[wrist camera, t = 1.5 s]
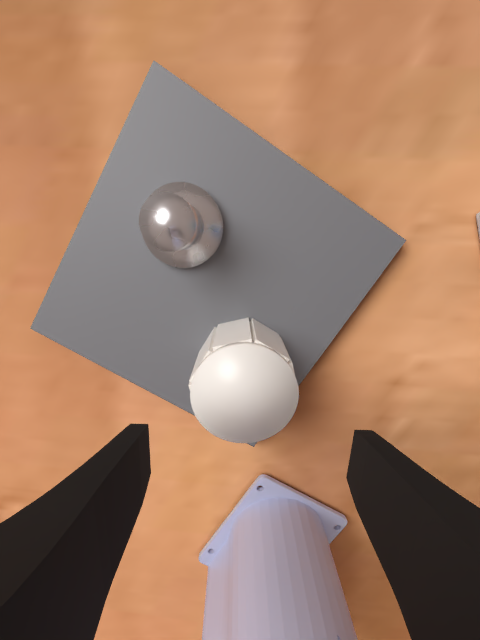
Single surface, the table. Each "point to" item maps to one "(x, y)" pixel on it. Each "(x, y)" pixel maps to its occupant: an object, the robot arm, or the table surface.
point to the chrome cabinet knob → (181, 224)
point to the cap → (243, 382)
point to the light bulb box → (478, 222)
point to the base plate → (224, 265)
